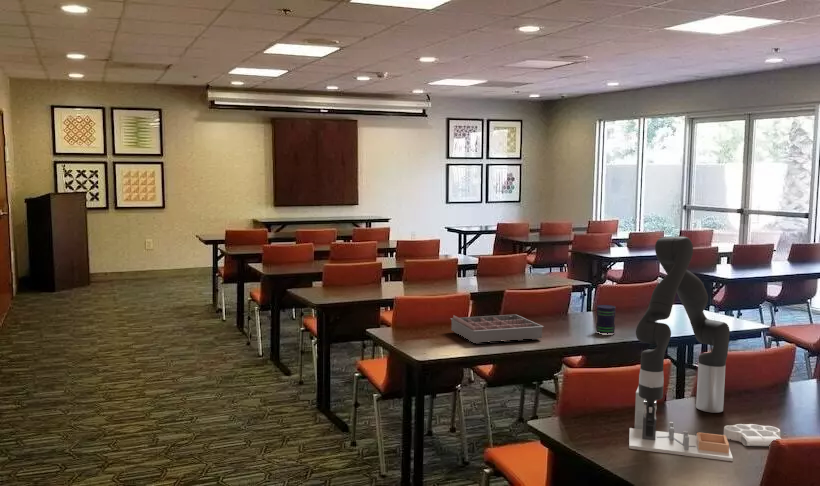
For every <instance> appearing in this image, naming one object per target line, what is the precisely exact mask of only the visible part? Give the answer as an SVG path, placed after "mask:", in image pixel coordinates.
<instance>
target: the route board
mask: <svg viewBox="0 0 820 486" xmlns="http://www.w3.org/2000/svg"><path fill="white" fill-rule="evenodd" d="M628 435H629V437H628V438H629V439H628V443H629V444H628V449H632V450H638V451H647V452H656V453H663V454H669V455H670V454H672V455H680V456H681V455H682V456H687V457H695V458H704V459H709V460H710V459H711V460H719V461H720V460H721V461H726V462H727V461H728V462H733V459H734V458H733V457H734V456H733V455H732V452H731V448H730V447H729V453H724V452H715V451H707V450H699V449H698V444H697V440H696V439H697V434H696V435H695V434H689V431H688V430H683V433H677V432H675V427H674V422H673V421H669V424H668V431H659V430H656V438H655V440H647V439H642V429H635V427H634V428H632V427H629V434H628ZM704 442H706V441H704ZM713 443H714V442H713ZM722 444H723V443H722Z"/></svg>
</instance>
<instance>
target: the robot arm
mask: <svg viewBox="0 0 820 486" xmlns="http://www.w3.org/2000/svg"><path fill="white" fill-rule="evenodd" d="M654 250H655V251H654V252H655V255H656V258H657V260H658V262H659V264H660V265H661V267H662V268H663V270H664V272H665V273H666V276H665V277H663V278H662V279H661V281H660V282H659V283H658V284H657V285H655V287H654V289H653V291H652V294H651V296H650V297H651V298H650V301H649V304H648V308H647V309H646V311H645V313H644V315H643V316H642V317H641V319H640V321H639V322H638V323H637V326H636V329H635V336H636V339H637V340H638V341H639V342H640V343H645V344H652V345H656V347H655V348H654V349H645V350H643V351H641V354H640V368H639V375H638V386H639V393H638V394H639V396H640V397H641V398H643V399H646V401H644V417H645V418H646V422H645V424H646V436H649V437H652V436H653V426H654V425H655V423H654V419H655V418H656V419H657V414H656V412H657V410H658V408H657V407H658V406H657V405H658V404H657V401H660V400H662V399H663V398H664V380H665V378H664V377H665V376H664V365H665V364H664V363H665V355H666V351H667V348H668V345H669V342H670V340H671V336H672V330H671V327H670V326H669V325H668V324H667V323H662V322H657V321H661V320H662V321H663V320H667V319H668V318H669V317H671V313H672V309H673V304H674V301H675V298H676V295H677V296H678V298H679V300H680V303H681V304H682V306H683V308H684V311H685V312H686V314H687V316H688V319H689V323H690V325H691V328H692V330H693V334H694V336H695V339H696V340H697V342H699V343H701V344H704V345H708V346H712V351H708V352H704V353H703V352H702V353H699V355H698V360H697V361H698V362H697V363H698V364H697V383H696V384H697V386H696V405H695V407H696V409H698V410H700V411H703V412H707V413H712V414H713V413H715V414H716V413H717V414H718V413H722V412H724V403H725V385H726V384H725V382H726V381H725V379H726V365H727V358H728V355H729V354H728V352H729V343H730V336H731V335H730V334H731V333H730V332H731V331H730V330H731V329H730V327H729V325H728V323H726V322H724V321H720V320H715V319H714V320H713V319H710V318H707V317H706V314H705V313H704V311H705V309H706V306H707V304H708V301H709V295H708V292H707V289H706V288H705V285H704V283H703V282H702V280H701V279H700V278H699V277H698V276H697V275H695V274H694V273H693V272H691V271H690V270H688V268H689V265H690V264H691V263H690V262H692V259H693V258H692V257H693V253H694V246H693V242H692V240H691V239H690V238H689V237H687V236H666V237H659V238H658V239H657V241H656V242H655V244H654ZM655 400H656V402H654V401H655ZM648 418H652V421H648Z"/></svg>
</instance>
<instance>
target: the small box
mask: <svg viewBox="0 0 820 486" xmlns="http://www.w3.org/2000/svg"><path fill="white" fill-rule="evenodd" d="M638 393H639V385H638V386H637V389H636V391H635V403H634V404H635V405H634V406H635V407H634V428H635V429H643V414H644V401H646V399H643V398H641V397H640V396H639V394H638ZM654 402H657V400H655V401H654Z"/></svg>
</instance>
